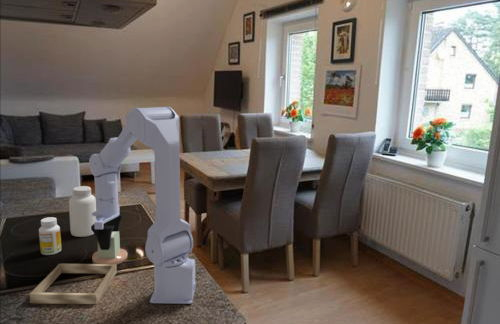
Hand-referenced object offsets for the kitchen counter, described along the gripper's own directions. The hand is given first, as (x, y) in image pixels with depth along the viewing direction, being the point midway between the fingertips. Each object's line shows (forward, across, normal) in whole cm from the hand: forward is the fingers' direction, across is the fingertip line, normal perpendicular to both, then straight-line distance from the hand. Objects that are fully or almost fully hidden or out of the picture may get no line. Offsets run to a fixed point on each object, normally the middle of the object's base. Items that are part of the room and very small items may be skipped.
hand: (109, 244), depth 107 cm
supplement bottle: (+4, -4, -18) cm, 19 cm away
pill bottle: (+4, -18, -14) cm, 23 cm away
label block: (+3, 0, 0) cm, 3 cm away
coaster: (+4, 0, 0) cm, 4 cm away
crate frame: (+4, +15, -3) cm, 16 cm away
